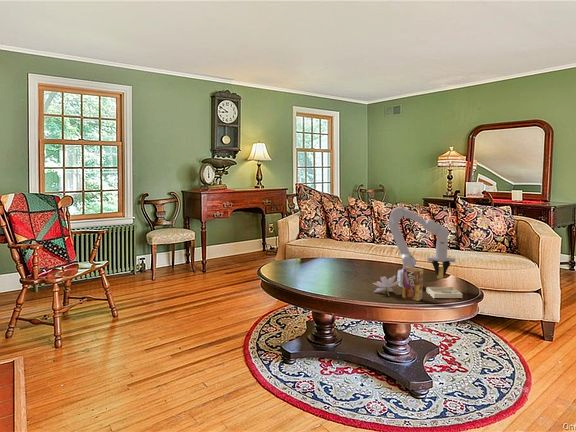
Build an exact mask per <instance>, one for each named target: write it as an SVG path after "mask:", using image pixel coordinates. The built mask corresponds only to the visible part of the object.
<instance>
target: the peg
mask: <svg viewBox="0 0 576 432" xmlns="http://www.w3.org/2000/svg"><path fill="white" fill-rule="evenodd" d="M443 274H444V267H443V266H439V269H438V276H437V275H436V279H438V280H443V279H444V275H443Z"/></svg>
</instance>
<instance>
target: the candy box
mask: <svg viewBox="0 0 576 432" xmlns="http://www.w3.org/2000/svg"><path fill="white" fill-rule="evenodd" d="M402 268H403V267H402ZM423 283H424V269H423V268H419V267H415V268H413V267H404V268H403V287H402V294H401V295H402V296H401V297H402V298H403V299H408V300H413V301H416V302H417V301H418V302H420V301H421V299H423V288H424V287H423V285H424V284H423Z"/></svg>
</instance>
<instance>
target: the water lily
mask: <svg viewBox="0 0 576 432" xmlns="http://www.w3.org/2000/svg"><path fill="white" fill-rule="evenodd" d="M396 277H397V275H393V276H391V277H389V278H387V276H385V275H384V276H380V281H376V282H373V283H372V284H373V285H375V286H377V287H378V288H375V290H374V291H373V293H379V292H382V291H384V290H386V292H387V295H388V297H390V296H391V295H390V293H389V292H392V293H393V287H395V286H397V285H398V284H399V283H400V282H401V281H395V279H396Z"/></svg>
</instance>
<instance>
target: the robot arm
mask: <svg viewBox="0 0 576 432" xmlns="http://www.w3.org/2000/svg"><path fill="white" fill-rule="evenodd" d="M402 218H403V219H409V220H412V221H414V222H416V223H418V224H419V225H421V226H422V227H423V230H426V231H427V232H429V233H431V234H433V235H435V236H437V237H436V245H435V256H433V257H427V258H426V262H427V263H430V262H431V264H432V266H433V269H434V274H435V275H436V277H437V276H438V269H439V267H440V263H442V267H444V274H443V277H445V276H446V274H447V271H448V269H449V267H450V265H451V263H456V258H454V257H448V247H449V244H448V243H449V242H448V240H449V238H448V237H449V235H450V234H449V230H448V229H447V227H445V226H443V225H442V224H438V223H437V222H435V220H434V219H425V218H423V217H421V216H420V215H418V214H417V213H415V212H413V211H412V210H410V209H408V208H405V207H403V206H400V205H397V206H395V207H394V208H392V210H391V212H390V214H389V219H388V227H389V230H390V232H391V234H392V237H393V240H394V242H395V244H396V247H397V249H398V250H399V253H400V256H401V261H402V269H398V270H397V275H396V277H397V278H396V279H397V281H401V282H400V283H399V284H397V285H398V286H399V287H400V288H403V268H404V267H413V268H416V264H417V260H416V258H415V257H414V256H413V254H412V253H411V252H410V250H409V248H408V245H407V243H406V240H405V238H404V236H403V234H402V232H401V231H402V230H401V229H400V226H399V224H400V222H401V219H402Z"/></svg>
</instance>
